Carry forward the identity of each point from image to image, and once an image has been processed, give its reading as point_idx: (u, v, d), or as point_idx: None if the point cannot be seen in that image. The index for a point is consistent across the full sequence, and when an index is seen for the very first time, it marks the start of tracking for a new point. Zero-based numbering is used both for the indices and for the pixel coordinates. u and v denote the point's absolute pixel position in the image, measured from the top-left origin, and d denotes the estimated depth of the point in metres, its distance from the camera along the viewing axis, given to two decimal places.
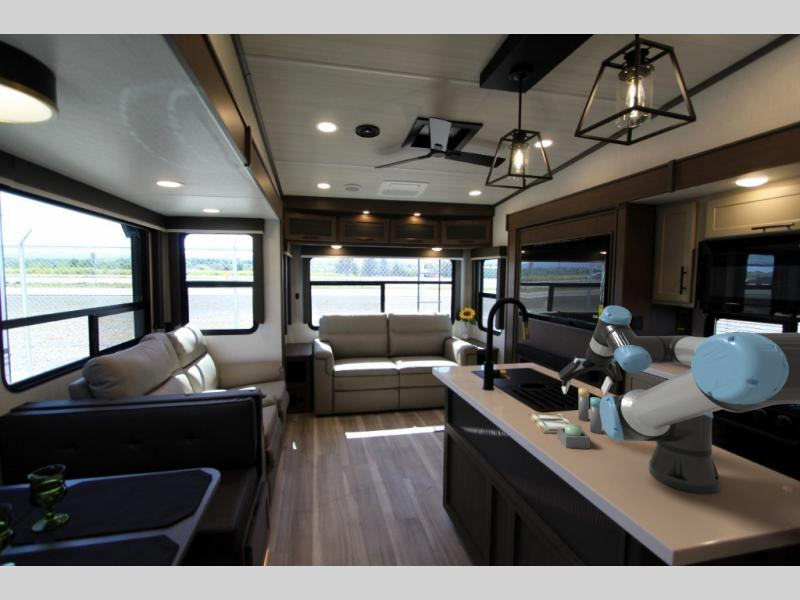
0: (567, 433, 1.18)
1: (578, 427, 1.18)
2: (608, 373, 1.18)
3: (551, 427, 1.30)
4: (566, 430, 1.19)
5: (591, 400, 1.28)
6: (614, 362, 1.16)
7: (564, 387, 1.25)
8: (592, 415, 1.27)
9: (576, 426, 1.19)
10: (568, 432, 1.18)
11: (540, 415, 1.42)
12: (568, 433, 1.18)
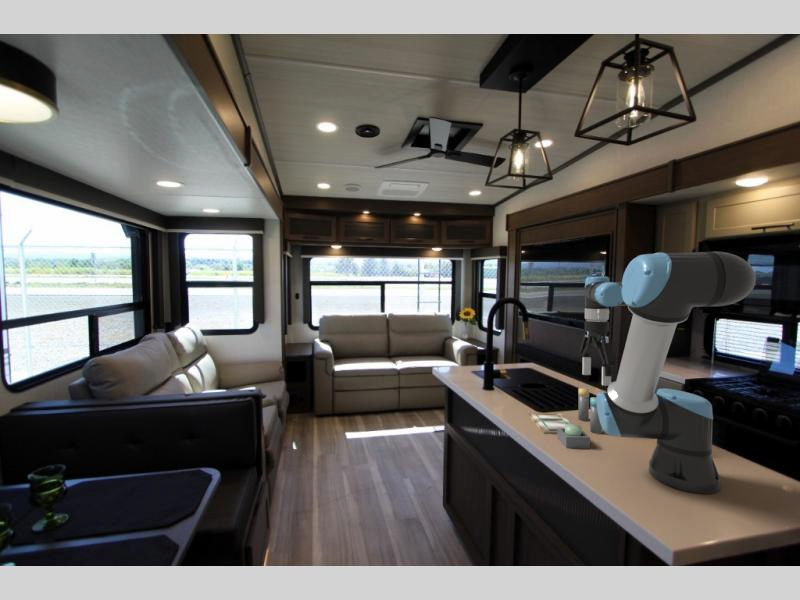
0: (567, 433, 1.18)
1: (578, 427, 1.18)
2: (599, 352, 1.22)
3: (551, 427, 1.30)
4: (566, 430, 1.19)
5: (591, 400, 1.28)
6: None
7: None
8: (592, 415, 1.27)
9: (576, 426, 1.19)
10: (568, 432, 1.18)
11: (540, 415, 1.42)
12: (568, 433, 1.18)
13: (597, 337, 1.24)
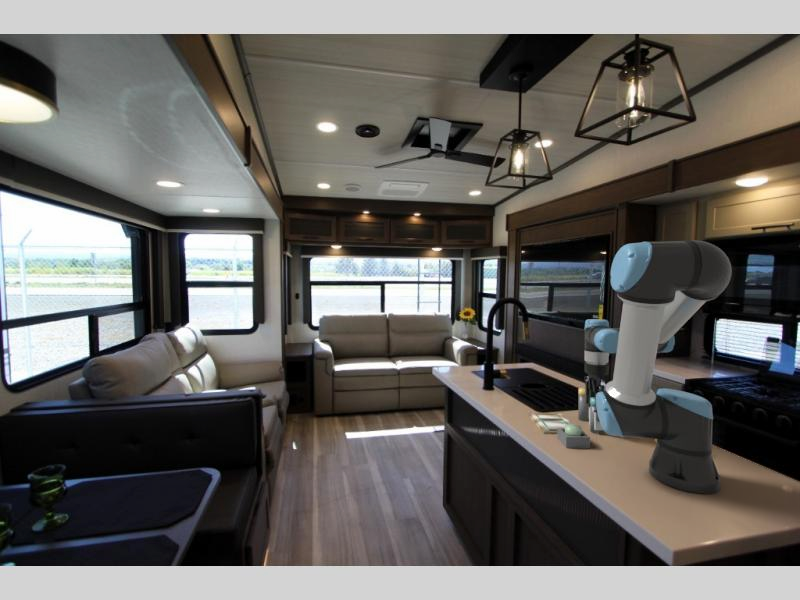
0: (567, 433, 1.18)
1: (578, 427, 1.18)
2: (595, 396, 1.26)
3: (551, 427, 1.30)
4: (566, 430, 1.19)
5: (591, 400, 1.28)
6: None
7: None
8: (592, 415, 1.27)
9: (576, 426, 1.19)
10: (568, 432, 1.18)
11: (540, 415, 1.42)
12: (568, 433, 1.18)
13: (597, 380, 1.25)
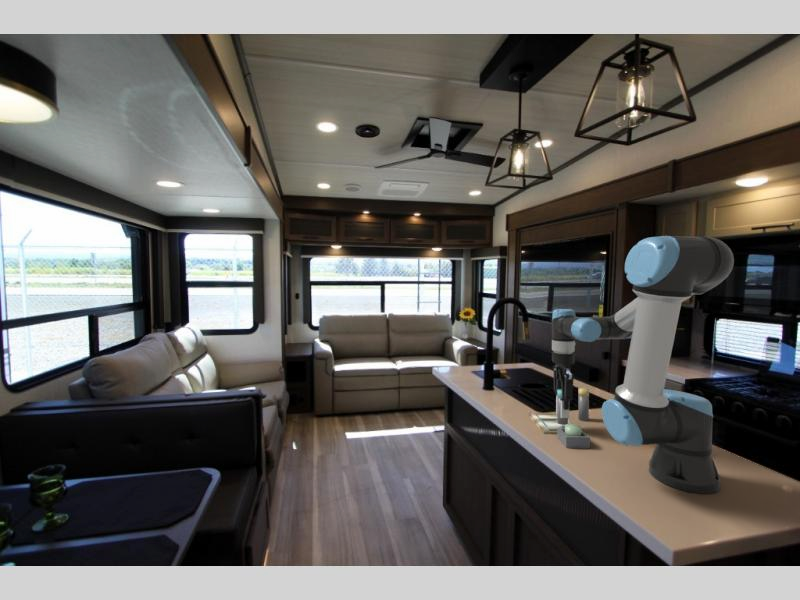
0: (567, 433, 1.18)
1: (578, 427, 1.18)
2: (561, 384, 1.28)
3: (551, 427, 1.30)
4: (566, 430, 1.19)
5: (558, 392, 1.30)
6: (567, 374, 1.25)
7: None
8: (558, 406, 1.30)
9: (576, 426, 1.19)
10: (568, 432, 1.18)
11: (540, 415, 1.42)
12: (568, 433, 1.18)
13: (563, 368, 1.27)
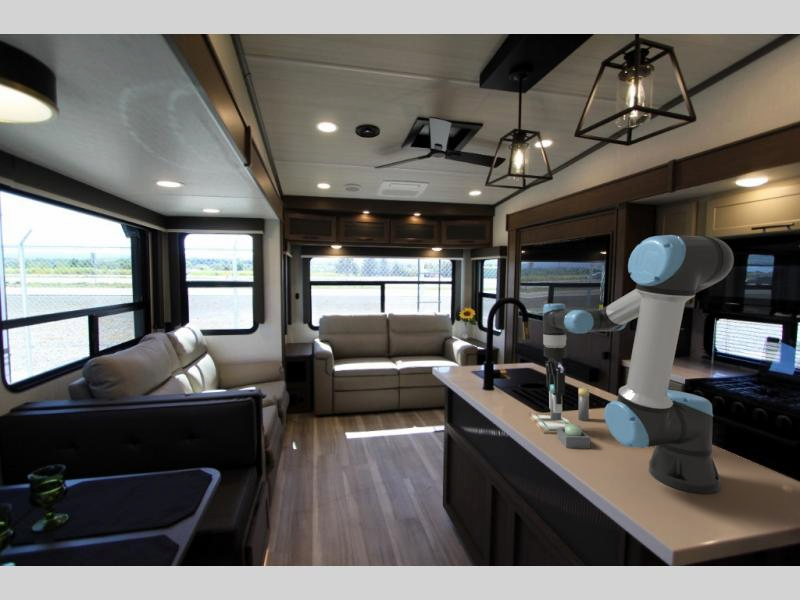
0: (567, 433, 1.18)
1: (578, 427, 1.18)
2: (554, 379, 1.27)
3: (551, 427, 1.30)
4: (566, 430, 1.19)
5: (550, 387, 1.29)
6: None
7: None
8: (551, 402, 1.29)
9: (576, 426, 1.19)
10: (568, 432, 1.18)
11: (540, 415, 1.42)
12: (568, 433, 1.18)
13: (554, 362, 1.27)
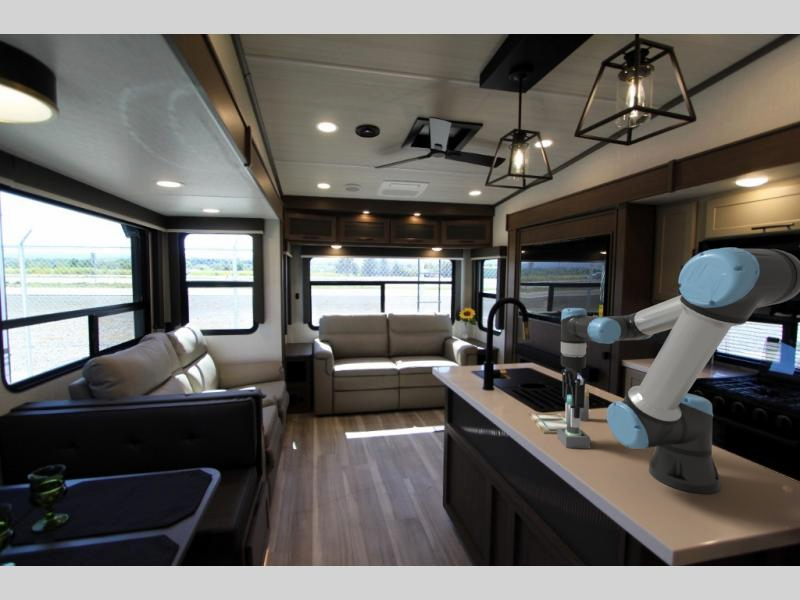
0: None
1: None
2: (572, 391, 1.17)
3: (551, 427, 1.30)
4: None
5: (567, 397, 1.19)
6: None
7: None
8: (568, 414, 1.19)
9: None
10: None
11: (540, 415, 1.42)
12: None
13: (573, 373, 1.16)
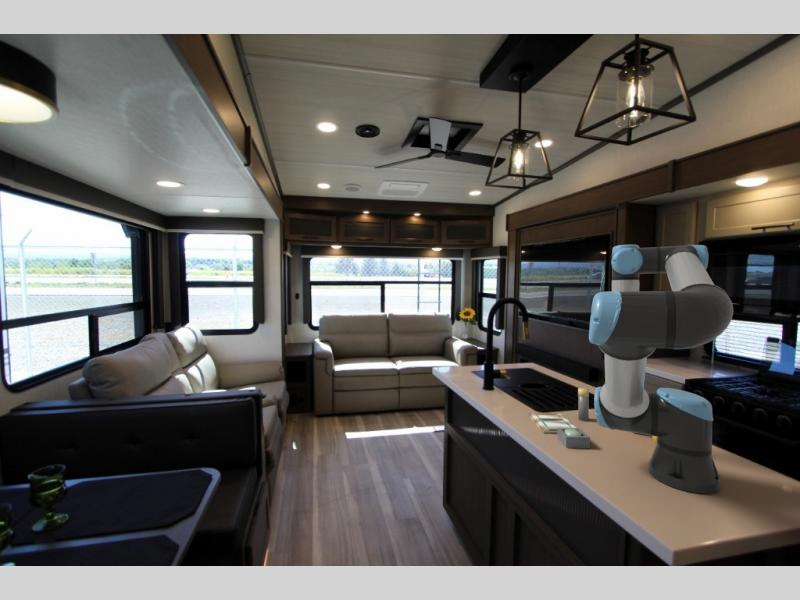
0: None
1: (578, 432, 1.18)
2: None
3: (551, 427, 1.30)
4: None
5: None
6: None
7: None
8: None
9: (576, 431, 1.19)
10: None
11: (540, 415, 1.42)
12: None
13: None
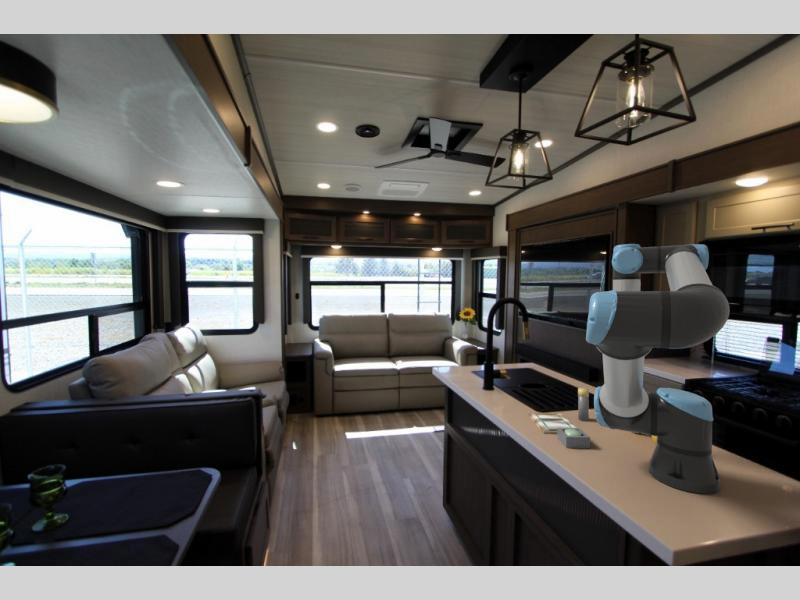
0: None
1: (578, 432, 1.18)
2: None
3: (551, 427, 1.30)
4: None
5: None
6: None
7: None
8: None
9: (576, 431, 1.19)
10: None
11: (540, 415, 1.42)
12: None
13: None
